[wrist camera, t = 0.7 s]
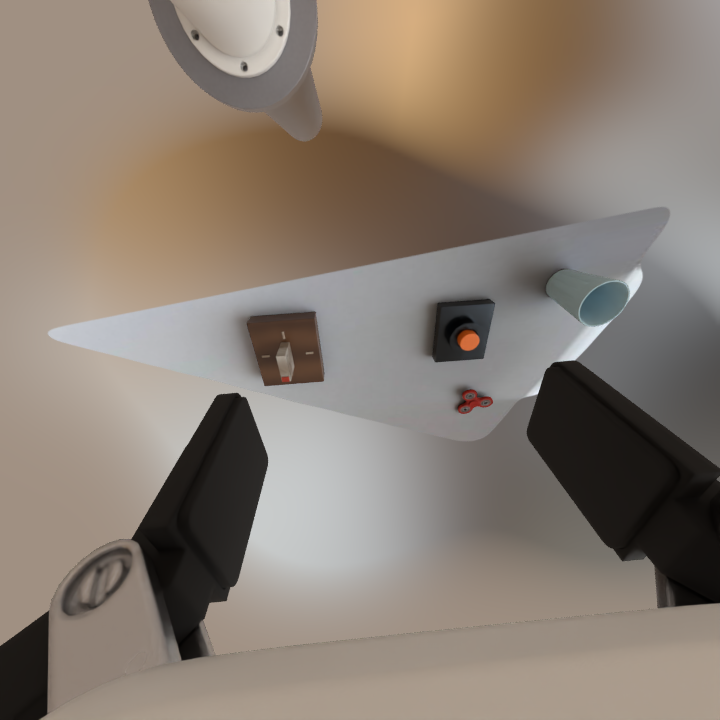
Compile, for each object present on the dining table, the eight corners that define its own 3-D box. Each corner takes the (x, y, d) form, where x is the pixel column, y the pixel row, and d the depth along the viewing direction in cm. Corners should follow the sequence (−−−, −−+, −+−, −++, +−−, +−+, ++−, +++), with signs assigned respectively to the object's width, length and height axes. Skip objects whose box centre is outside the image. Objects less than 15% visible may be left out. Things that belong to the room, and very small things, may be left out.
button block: (437, 302, 54) (444, 311, 51) (489, 299, 54) (499, 307, 51) (432, 356, 61) (437, 367, 57) (478, 353, 61) (487, 363, 58)
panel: (250, 316, 53) (246, 323, 51) (315, 311, 54) (314, 318, 51) (267, 377, 61) (264, 386, 58) (324, 373, 61) (323, 381, 59)
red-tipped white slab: (280, 342, 53) (275, 357, 49) (289, 341, 53) (285, 356, 49) (286, 366, 56) (281, 383, 52) (294, 366, 56) (290, 382, 52)
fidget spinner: (470, 390, 63) (468, 386, 64) (448, 409, 68) (446, 404, 69) (496, 402, 66) (494, 398, 67) (473, 419, 70) (471, 415, 71)
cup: (591, 270, 53) (641, 289, 44) (562, 308, 56) (603, 332, 48) (558, 256, 51) (604, 273, 42) (531, 296, 55) (568, 319, 46)
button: (458, 330, 54) (461, 334, 52) (477, 328, 54) (481, 332, 52) (455, 346, 55) (458, 351, 54) (474, 345, 56) (477, 350, 54)
